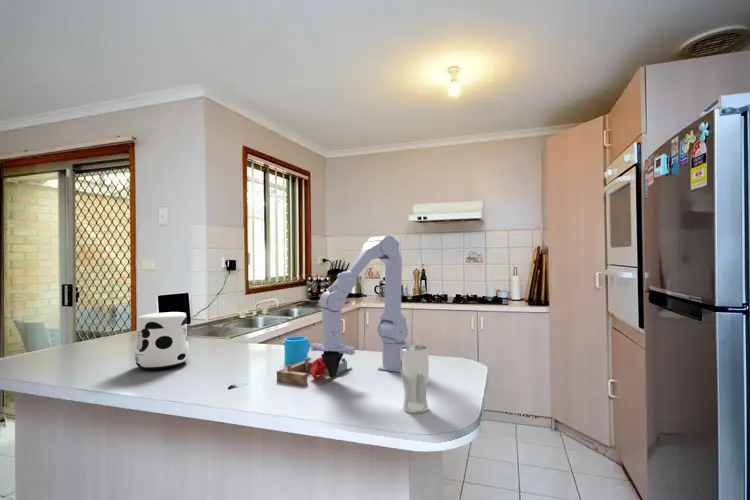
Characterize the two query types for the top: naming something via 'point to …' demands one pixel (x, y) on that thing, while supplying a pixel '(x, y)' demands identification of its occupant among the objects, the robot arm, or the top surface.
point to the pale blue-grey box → (342, 365)
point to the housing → (301, 373)
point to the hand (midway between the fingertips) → (332, 376)
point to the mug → (296, 349)
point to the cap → (318, 368)
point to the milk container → (162, 340)
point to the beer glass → (414, 377)
